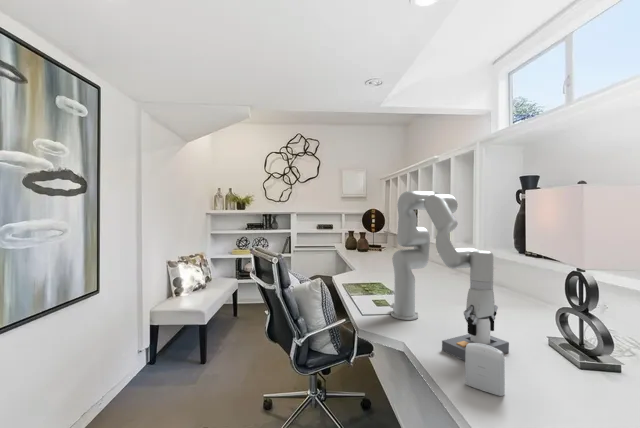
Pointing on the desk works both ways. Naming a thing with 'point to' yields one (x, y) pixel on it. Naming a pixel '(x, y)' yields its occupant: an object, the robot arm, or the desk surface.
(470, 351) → the photo printer
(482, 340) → the can
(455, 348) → the grey socket block
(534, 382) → the desk surface
